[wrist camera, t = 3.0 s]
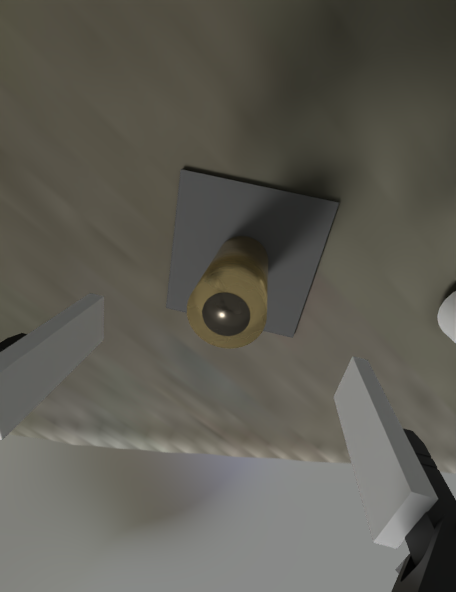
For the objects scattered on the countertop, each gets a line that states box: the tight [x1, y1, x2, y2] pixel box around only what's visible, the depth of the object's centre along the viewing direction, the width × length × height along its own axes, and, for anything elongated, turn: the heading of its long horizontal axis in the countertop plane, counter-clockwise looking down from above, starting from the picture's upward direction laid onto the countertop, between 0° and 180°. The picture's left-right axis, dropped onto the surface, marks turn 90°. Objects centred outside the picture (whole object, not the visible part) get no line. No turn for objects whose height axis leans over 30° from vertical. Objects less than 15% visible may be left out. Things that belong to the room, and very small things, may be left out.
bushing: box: [187, 236, 268, 348], centre depth 22 cm, size 5×5×11 cm
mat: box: [166, 169, 339, 338], centre depth 28 cm, size 14×14×1 cm
